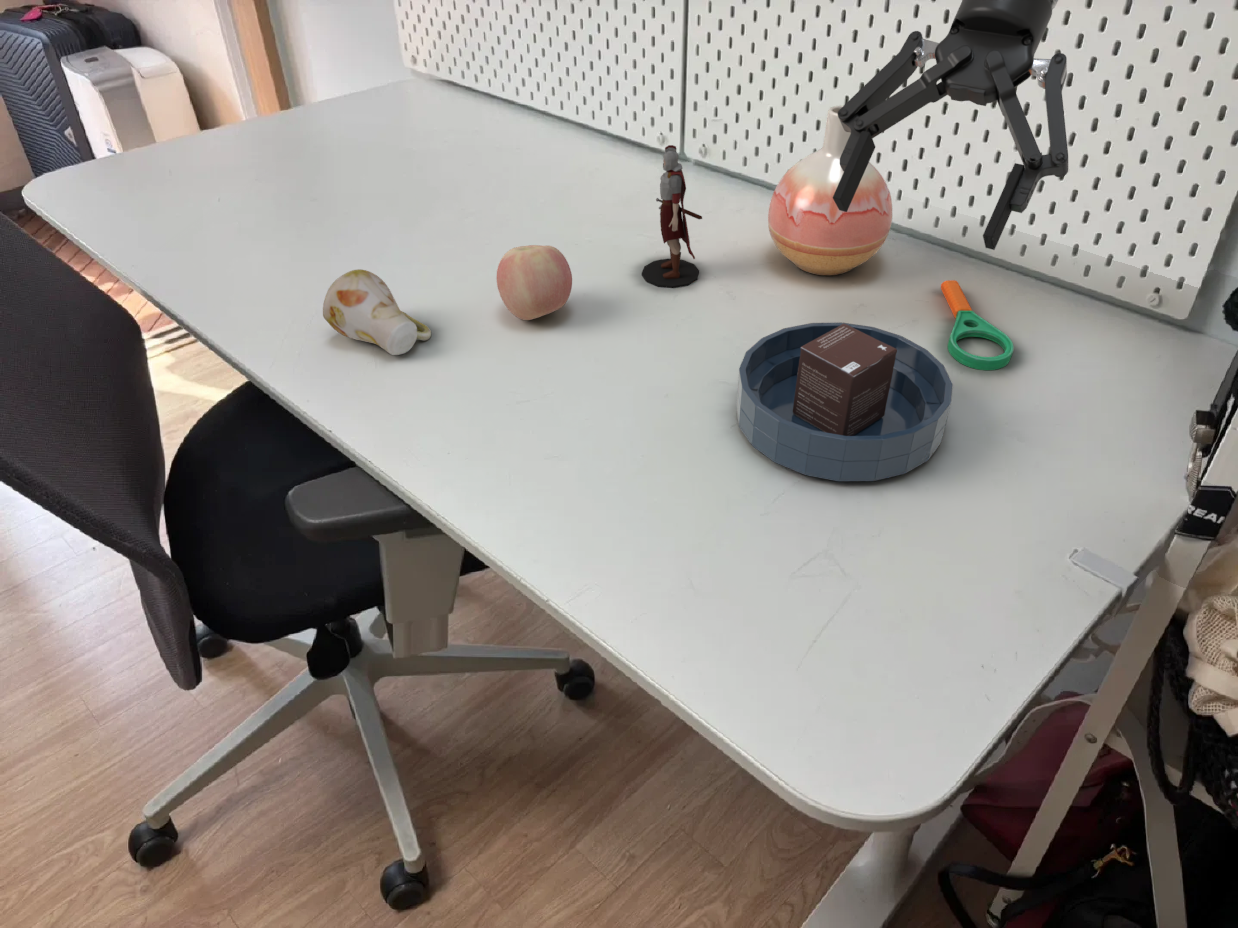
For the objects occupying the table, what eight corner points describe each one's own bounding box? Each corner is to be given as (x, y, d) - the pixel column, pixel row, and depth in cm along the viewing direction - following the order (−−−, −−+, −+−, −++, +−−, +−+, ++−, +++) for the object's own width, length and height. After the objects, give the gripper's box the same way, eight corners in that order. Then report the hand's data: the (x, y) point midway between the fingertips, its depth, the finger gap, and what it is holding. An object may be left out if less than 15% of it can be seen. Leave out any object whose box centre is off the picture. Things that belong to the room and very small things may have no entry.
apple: (582, 301, 103) (578, 234, 98) (561, 337, 97) (556, 268, 92) (513, 294, 105) (507, 227, 99) (490, 329, 99) (481, 260, 94)
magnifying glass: (1020, 370, 91) (1024, 355, 90) (957, 371, 91) (961, 356, 90) (975, 293, 103) (978, 279, 101) (919, 294, 103) (922, 280, 102)
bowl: (970, 406, 86) (983, 361, 83) (889, 516, 75) (900, 468, 72) (795, 346, 95) (800, 303, 92) (699, 437, 84) (700, 391, 81)
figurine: (639, 261, 110) (638, 134, 100) (700, 258, 110) (705, 132, 101) (644, 289, 105) (643, 158, 95) (708, 286, 105) (714, 155, 95)
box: (834, 388, 88) (844, 321, 83) (886, 417, 84) (899, 348, 80) (790, 414, 85) (798, 345, 80) (842, 445, 81) (853, 375, 77)
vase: (748, 278, 106) (759, 122, 95) (784, 229, 116) (798, 82, 105) (867, 301, 102) (894, 140, 90) (895, 248, 111) (922, 97, 100)
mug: (393, 376, 93) (329, 293, 88) (360, 375, 101) (300, 298, 96) (447, 331, 95) (388, 248, 91) (411, 333, 103) (355, 257, 99)
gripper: (1162, 45, 78) (1058, 276, 79) (883, 5, 90) (794, 207, 90) (1170, -11, 72) (1057, 242, 72) (868, -46, 83) (772, 172, 84)
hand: (911, 223), depth 81 cm, fingers open, 13 cm apart
